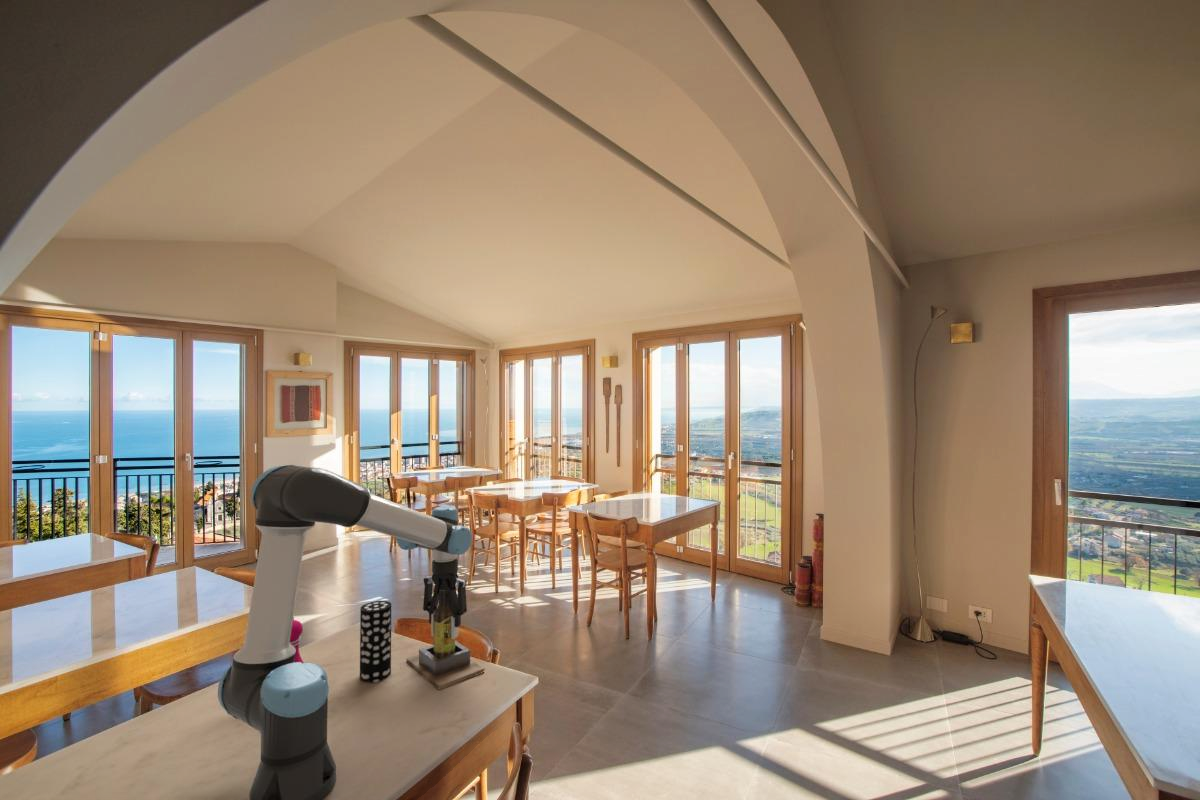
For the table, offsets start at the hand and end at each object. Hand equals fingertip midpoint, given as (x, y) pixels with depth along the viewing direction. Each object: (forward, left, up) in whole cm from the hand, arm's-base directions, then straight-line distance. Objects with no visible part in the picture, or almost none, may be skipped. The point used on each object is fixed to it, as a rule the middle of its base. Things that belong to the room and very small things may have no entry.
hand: (444, 635), depth 157 cm
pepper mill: (+18, +37, -10) cm, 42 cm away
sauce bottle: (0, 0, -6) cm, 6 cm away
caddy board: (0, 0, -9) cm, 9 cm away
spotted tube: (+9, +17, -10) cm, 21 cm away
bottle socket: (0, 0, -9) cm, 9 cm away
